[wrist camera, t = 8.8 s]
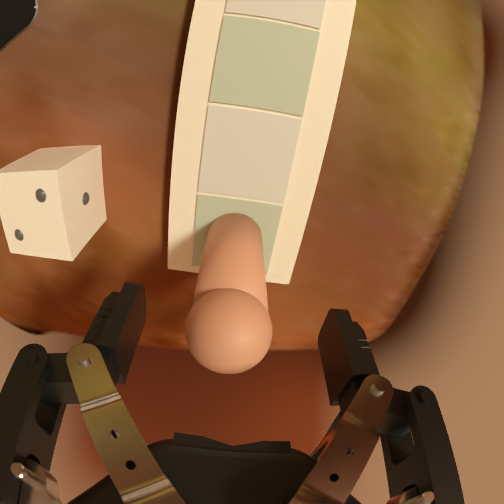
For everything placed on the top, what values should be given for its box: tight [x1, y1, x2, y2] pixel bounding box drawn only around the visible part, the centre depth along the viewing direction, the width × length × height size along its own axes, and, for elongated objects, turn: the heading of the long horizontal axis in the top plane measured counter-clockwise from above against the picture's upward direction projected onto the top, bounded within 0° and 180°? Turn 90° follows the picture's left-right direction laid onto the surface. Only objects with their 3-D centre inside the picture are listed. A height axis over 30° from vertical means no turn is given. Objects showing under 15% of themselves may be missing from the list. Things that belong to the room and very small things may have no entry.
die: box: [0, 145, 107, 261], centre depth 14 cm, size 5×5×5 cm
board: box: [168, 0, 356, 284], centre depth 13 cm, size 8×26×1 cm, turn 171°
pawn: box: [185, 213, 272, 374], centre depth 14 cm, size 3×3×9 cm
